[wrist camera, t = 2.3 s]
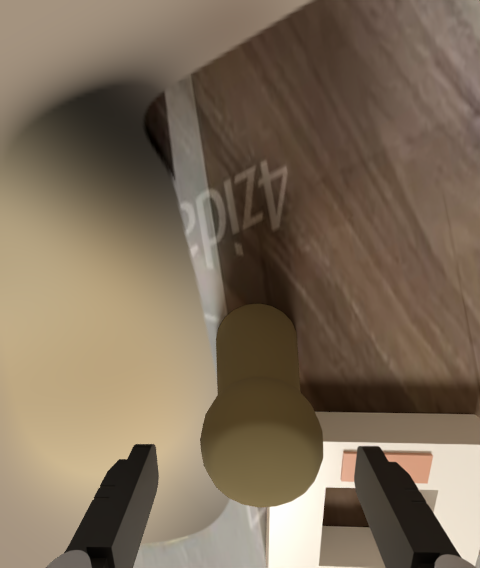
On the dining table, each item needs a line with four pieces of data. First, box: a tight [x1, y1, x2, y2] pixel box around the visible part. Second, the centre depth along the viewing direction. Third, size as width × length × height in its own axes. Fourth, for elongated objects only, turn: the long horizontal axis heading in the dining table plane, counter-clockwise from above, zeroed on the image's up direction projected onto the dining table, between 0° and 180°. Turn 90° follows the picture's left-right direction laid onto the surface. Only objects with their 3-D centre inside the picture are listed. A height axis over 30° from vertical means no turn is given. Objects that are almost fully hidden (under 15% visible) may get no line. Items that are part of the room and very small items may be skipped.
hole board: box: [266, 412, 480, 568], centre depth 23 cm, size 16×16×3 cm
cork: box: [200, 303, 323, 507], centre depth 16 cm, size 6×6×11 cm
